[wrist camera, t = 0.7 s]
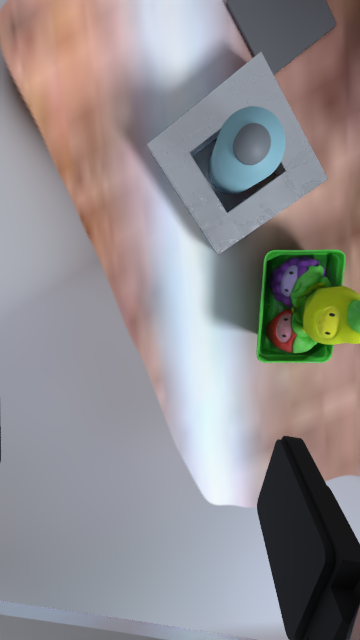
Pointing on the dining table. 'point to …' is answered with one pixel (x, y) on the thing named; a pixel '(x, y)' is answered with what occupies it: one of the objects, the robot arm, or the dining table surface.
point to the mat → (281, 27)
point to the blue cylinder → (246, 150)
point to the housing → (204, 126)
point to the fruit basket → (305, 307)
